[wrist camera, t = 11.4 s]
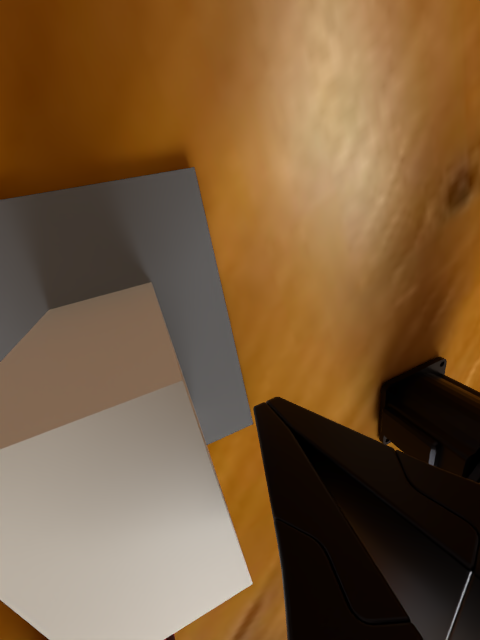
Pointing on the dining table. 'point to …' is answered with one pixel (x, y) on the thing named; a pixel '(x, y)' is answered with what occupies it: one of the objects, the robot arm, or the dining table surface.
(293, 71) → the dining table surface
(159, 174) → the mat
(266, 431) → the robot arm
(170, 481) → the white upright block
